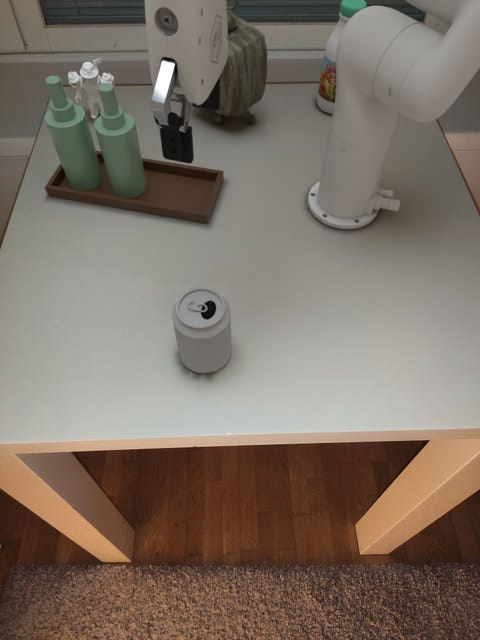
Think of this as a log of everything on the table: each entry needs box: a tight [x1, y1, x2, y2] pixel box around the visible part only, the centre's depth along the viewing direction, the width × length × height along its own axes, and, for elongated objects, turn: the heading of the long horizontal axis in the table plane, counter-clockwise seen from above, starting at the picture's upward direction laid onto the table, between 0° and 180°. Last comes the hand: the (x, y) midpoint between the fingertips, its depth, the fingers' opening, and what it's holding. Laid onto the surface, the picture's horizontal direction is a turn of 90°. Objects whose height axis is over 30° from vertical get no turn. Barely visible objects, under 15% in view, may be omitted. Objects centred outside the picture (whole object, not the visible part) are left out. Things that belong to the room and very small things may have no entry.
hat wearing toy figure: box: [67, 56, 116, 119], centre depth 94 cm, size 9×4×12 cm, turn 87°
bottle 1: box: [44, 74, 103, 191], centre depth 80 cm, size 6×6×19 cm
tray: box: [44, 150, 225, 225], centre depth 86 cm, size 30×12×3 cm, turn 77°
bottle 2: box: [93, 83, 147, 198], centre depth 79 cm, size 6×6×19 cm
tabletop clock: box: [212, 0, 268, 124], centre depth 89 cm, size 14×9×25 cm, turn 49°
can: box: [171, 286, 232, 374], centre depth 63 cm, size 8×8×12 cm
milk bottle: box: [316, 0, 367, 115], centre depth 93 cm, size 8×8×20 cm
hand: (193, 132), depth 52 cm, fingers open, 9 cm apart
